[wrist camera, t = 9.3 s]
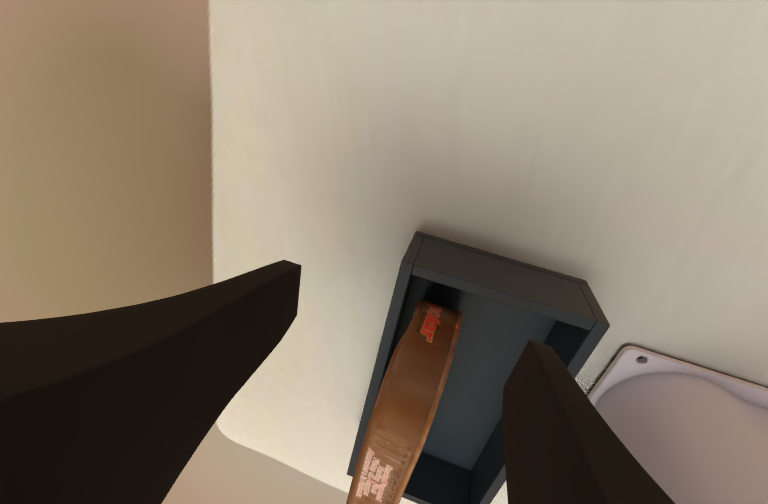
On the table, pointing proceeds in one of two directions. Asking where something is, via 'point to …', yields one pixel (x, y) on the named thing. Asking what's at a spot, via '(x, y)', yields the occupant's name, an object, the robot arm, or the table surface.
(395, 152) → the table surface
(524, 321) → the bin
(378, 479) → the tin
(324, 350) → the table surface
